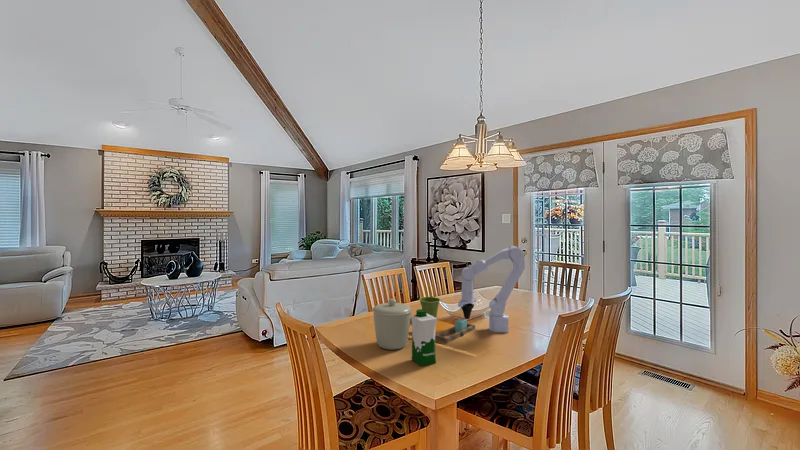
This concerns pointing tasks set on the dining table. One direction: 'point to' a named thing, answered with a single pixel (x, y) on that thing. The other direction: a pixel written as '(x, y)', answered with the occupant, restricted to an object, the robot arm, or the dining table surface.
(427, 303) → the plant pot
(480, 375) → the dining table surface
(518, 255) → the robot arm
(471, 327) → the wooden tray
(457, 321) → the teal block
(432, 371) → the dining table surface
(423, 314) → the milk carton
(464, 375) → the dining table surface
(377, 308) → the canister
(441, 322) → the dining table surface
